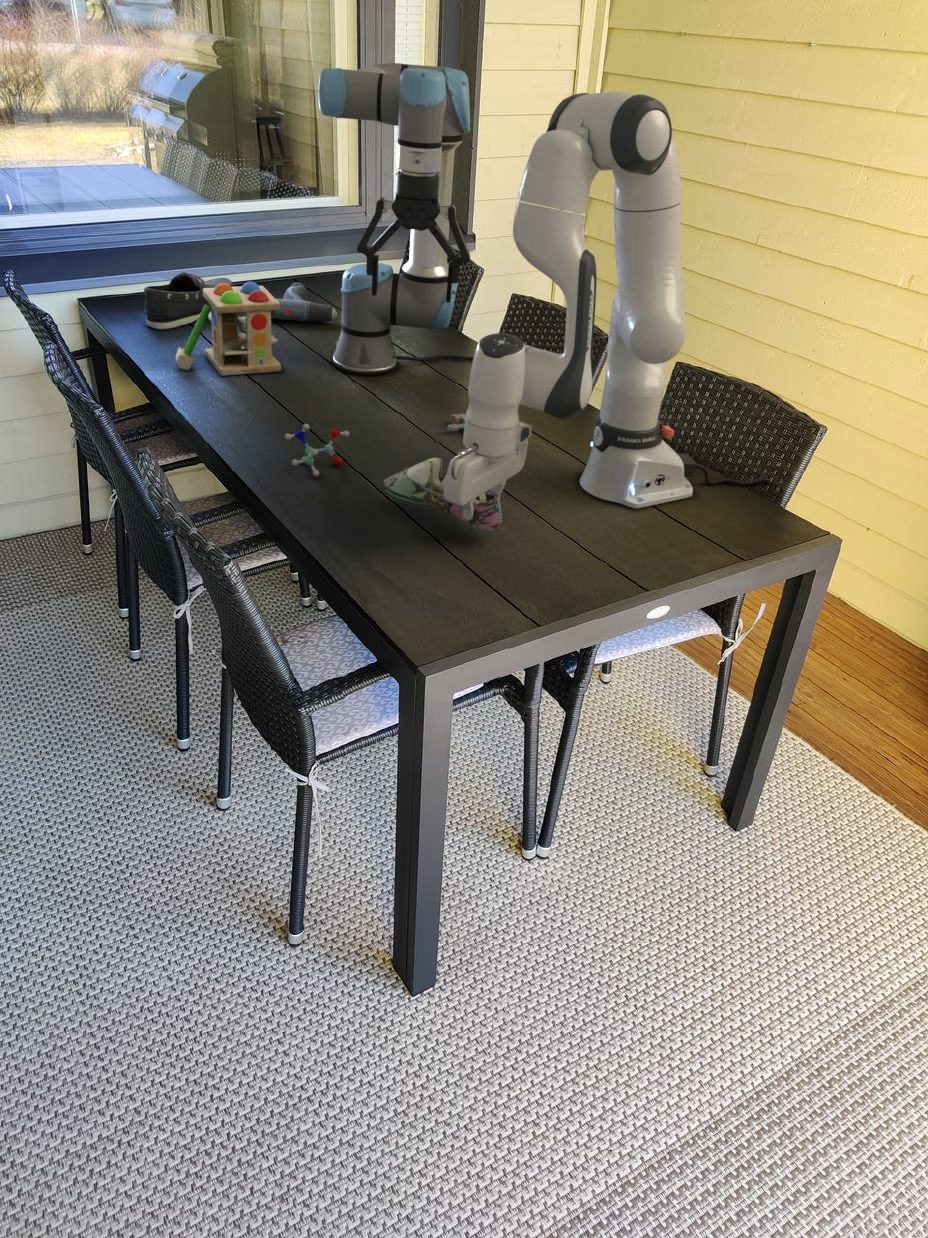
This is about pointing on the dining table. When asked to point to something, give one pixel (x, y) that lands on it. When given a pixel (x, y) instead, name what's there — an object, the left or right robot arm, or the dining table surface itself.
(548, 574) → the dining table surface
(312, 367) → the dining table surface
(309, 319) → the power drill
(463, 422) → the clamp
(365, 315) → the left robot arm
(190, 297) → the boat shoe
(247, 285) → the pounding bench toy
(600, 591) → the dining table surface
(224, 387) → the dining table surface
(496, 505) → the ballet flat
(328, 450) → the molecular model
